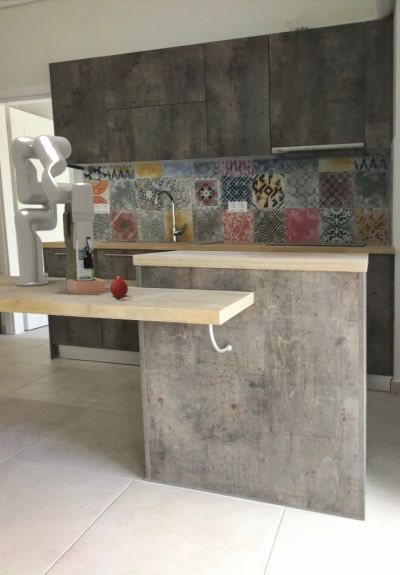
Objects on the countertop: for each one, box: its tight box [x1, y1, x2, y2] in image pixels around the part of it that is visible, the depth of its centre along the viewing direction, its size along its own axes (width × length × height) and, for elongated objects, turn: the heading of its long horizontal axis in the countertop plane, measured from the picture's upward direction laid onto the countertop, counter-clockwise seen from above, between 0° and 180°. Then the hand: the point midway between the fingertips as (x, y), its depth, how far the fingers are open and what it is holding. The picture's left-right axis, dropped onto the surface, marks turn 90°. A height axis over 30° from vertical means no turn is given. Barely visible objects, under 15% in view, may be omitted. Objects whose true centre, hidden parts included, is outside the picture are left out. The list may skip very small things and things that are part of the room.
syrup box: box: [76, 241, 95, 281], centre depth 193 cm, size 6×6×14 cm
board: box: [51, 287, 111, 296], centre depth 194 cm, size 18×18×1 cm
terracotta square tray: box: [66, 277, 106, 294], centre depth 194 cm, size 11×11×4 cm
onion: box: [109, 275, 129, 301], centre depth 181 cm, size 6×6×8 cm
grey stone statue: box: [62, 204, 77, 283], centre depth 212 cm, size 9×12×35 cm
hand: (85, 267), depth 193 cm, fingers closed on syrup box, 6 cm apart
